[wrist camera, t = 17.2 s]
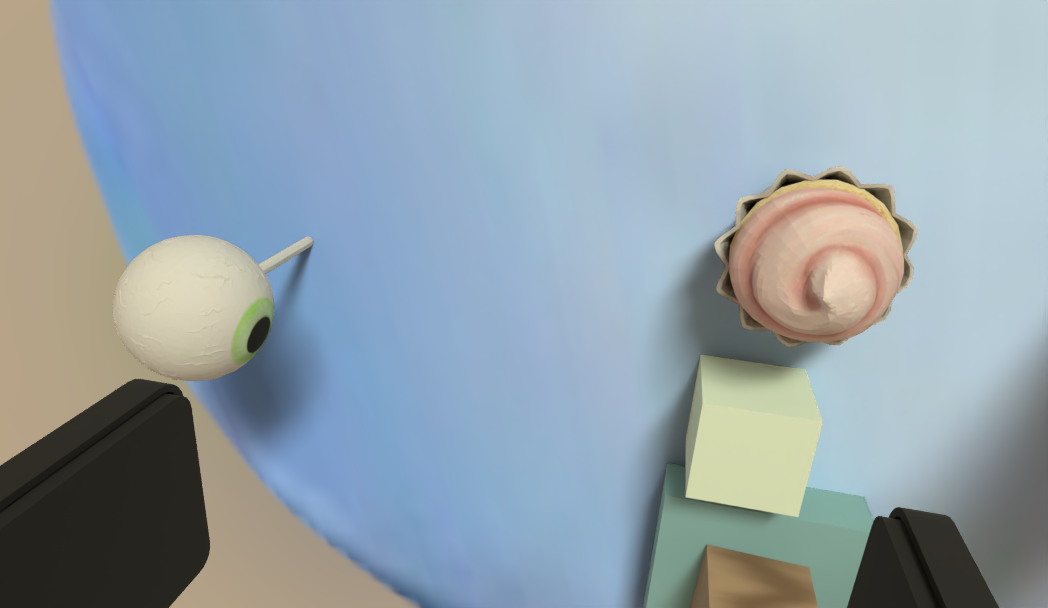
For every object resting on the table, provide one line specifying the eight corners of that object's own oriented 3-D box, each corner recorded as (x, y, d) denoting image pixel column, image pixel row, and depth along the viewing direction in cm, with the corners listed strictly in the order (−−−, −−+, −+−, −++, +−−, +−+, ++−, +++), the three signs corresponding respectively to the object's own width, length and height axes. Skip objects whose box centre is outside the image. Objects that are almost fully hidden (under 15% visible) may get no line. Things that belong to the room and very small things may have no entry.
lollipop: (349, 309, 47) (210, 429, 33) (250, 272, 47) (73, 375, 34) (371, 208, 44) (228, 295, 30) (264, 170, 44) (77, 238, 31)
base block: (862, 492, 45) (878, 534, 41) (819, 636, 49) (830, 686, 45) (667, 458, 47) (665, 495, 43) (643, 600, 51) (639, 644, 47)
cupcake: (730, 134, 38) (744, 172, 29) (915, 162, 37) (991, 210, 28) (693, 296, 42) (695, 375, 33) (861, 327, 40) (911, 418, 31)
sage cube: (805, 369, 42) (822, 421, 36) (784, 455, 44) (798, 517, 39) (700, 353, 43) (702, 403, 37) (685, 439, 45) (685, 497, 40)
